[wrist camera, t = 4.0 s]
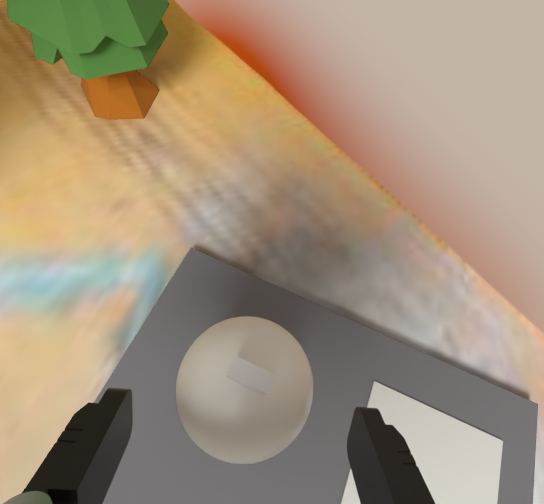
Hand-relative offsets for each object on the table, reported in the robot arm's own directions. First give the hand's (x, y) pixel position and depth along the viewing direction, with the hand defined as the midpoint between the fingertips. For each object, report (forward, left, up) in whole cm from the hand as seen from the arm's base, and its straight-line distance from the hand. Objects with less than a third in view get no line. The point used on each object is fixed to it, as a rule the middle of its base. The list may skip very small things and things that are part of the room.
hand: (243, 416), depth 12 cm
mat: (+5, +1, -8) cm, 9 cm away
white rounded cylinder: (0, +1, -7) cm, 8 cm away
